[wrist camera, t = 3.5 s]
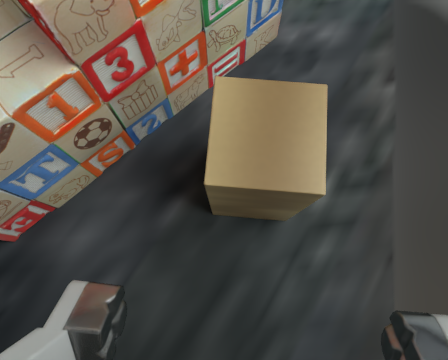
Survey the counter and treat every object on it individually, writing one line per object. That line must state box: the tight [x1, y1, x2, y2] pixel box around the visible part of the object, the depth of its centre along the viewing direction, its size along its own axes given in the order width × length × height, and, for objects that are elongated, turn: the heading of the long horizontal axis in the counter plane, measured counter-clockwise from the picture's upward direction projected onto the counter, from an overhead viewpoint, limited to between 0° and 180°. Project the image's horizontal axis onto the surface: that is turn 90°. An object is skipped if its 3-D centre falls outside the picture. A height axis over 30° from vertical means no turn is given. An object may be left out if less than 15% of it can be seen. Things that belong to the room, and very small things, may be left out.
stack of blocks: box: [0, 0, 283, 242], centre depth 17 cm, size 21×6×12 cm, turn 131°
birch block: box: [204, 76, 327, 221], centre depth 17 cm, size 4×4×9 cm
